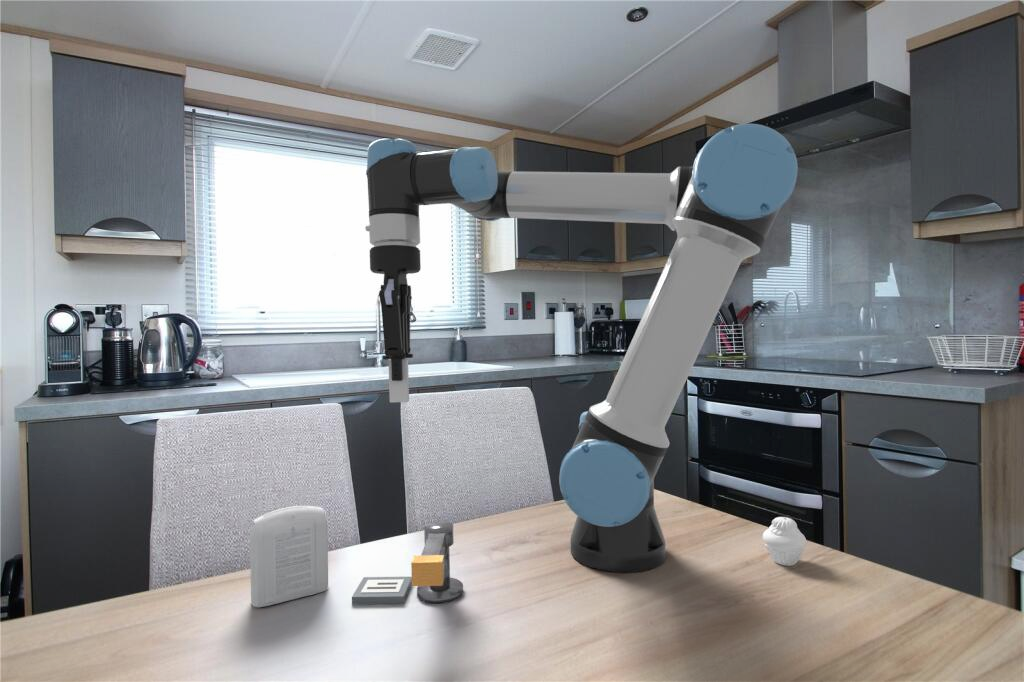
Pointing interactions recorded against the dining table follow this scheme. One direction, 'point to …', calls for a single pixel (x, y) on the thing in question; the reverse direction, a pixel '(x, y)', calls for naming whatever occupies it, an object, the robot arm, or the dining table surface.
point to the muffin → (784, 541)
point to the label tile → (382, 590)
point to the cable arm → (432, 555)
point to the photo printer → (288, 555)
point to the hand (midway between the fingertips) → (399, 401)
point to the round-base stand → (442, 587)
